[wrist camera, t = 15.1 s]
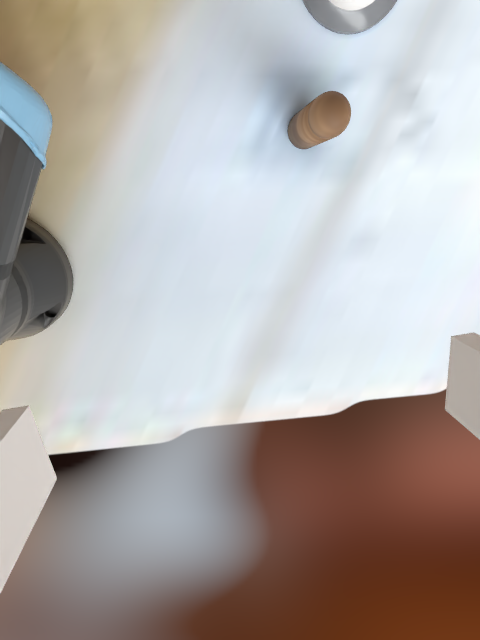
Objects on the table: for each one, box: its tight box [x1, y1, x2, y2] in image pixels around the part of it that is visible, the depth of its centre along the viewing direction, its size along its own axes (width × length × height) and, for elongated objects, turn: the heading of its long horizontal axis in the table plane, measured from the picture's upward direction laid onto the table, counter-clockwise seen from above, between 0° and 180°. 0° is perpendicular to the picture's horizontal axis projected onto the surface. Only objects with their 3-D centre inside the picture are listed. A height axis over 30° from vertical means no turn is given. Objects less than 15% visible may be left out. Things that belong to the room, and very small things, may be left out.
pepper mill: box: [288, 91, 351, 149], centre depth 38 cm, size 4×4×10 cm
